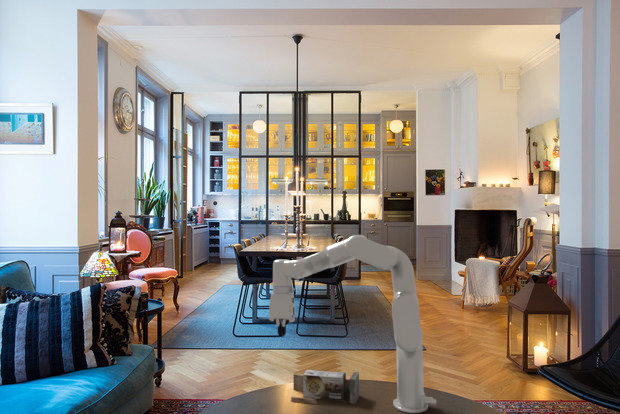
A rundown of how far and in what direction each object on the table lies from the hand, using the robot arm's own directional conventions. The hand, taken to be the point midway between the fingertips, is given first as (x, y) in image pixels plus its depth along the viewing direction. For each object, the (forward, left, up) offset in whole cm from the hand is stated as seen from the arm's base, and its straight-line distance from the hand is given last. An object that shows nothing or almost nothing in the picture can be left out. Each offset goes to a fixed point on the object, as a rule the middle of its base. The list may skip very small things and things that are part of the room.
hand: (281, 335), depth 168 cm
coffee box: (-9, -1, -18) cm, 20 cm away
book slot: (-17, 0, -23) cm, 28 cm away
